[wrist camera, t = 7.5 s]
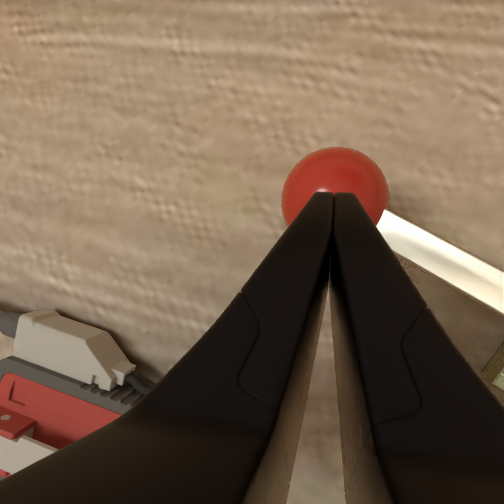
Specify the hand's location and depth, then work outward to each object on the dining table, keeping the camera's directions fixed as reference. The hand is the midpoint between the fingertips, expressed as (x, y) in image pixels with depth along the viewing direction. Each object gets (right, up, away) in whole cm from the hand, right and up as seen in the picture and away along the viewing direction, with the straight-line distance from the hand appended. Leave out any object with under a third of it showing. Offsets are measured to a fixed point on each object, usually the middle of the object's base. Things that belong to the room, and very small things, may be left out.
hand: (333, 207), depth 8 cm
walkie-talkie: (-12, -9, +13) cm, 20 cm away
